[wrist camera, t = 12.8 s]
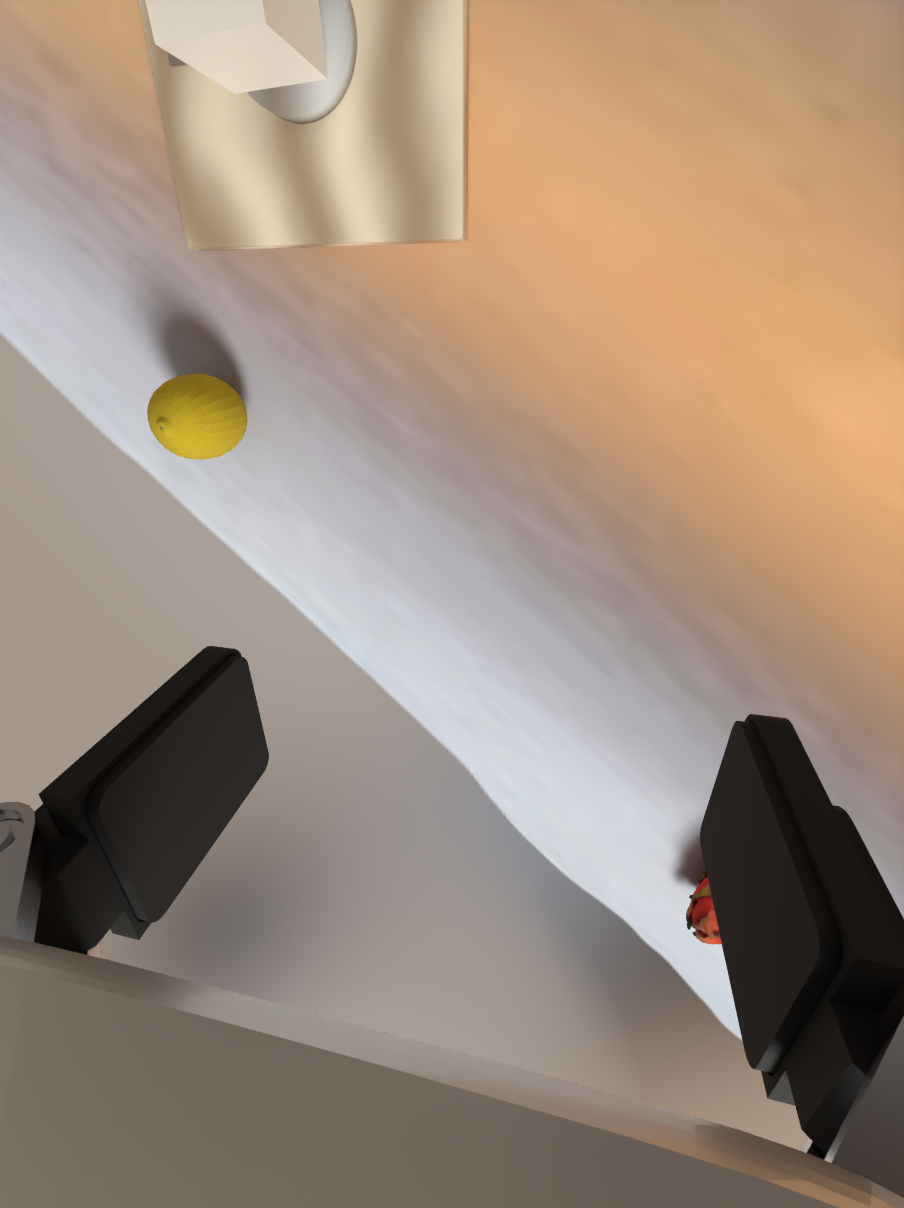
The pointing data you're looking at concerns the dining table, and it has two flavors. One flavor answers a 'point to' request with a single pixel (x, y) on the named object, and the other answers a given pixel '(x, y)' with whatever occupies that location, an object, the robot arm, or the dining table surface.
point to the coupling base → (329, 136)
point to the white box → (243, 40)
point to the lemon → (197, 416)
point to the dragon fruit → (703, 914)
